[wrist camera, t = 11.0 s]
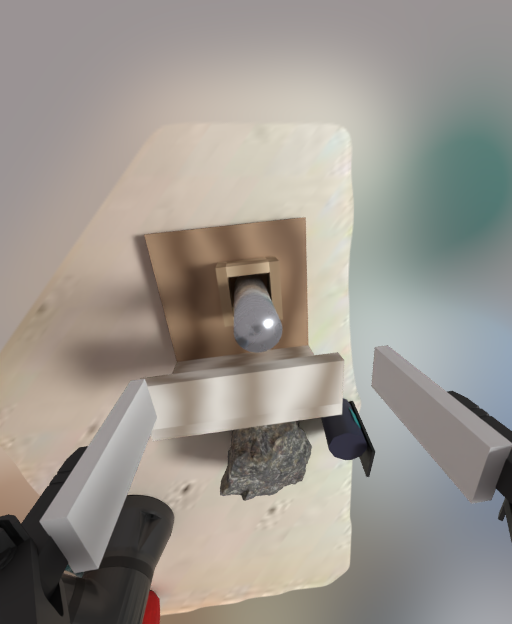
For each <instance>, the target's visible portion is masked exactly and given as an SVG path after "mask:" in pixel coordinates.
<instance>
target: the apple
mask: <svg viewBox="0 0 512 624" xmlns="http://www.w3.org/2000/svg"><path fill="white" fill-rule="evenodd" d="M159 621H160V601H159V598H158V597H157V595H156V594H155V593H154V592H153V591H149V595H148V600H147V604H146V609H145V613H144V618H143V622H142V624H159V623H160V622H159Z"/></svg>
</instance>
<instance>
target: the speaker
mask: <svg viewBox="0 0 512 624" xmlns="http://www.w3.org/2000/svg"><path fill="white" fill-rule="evenodd" d="M321 419H322V423H323V427H324V431H325V435H326V439H327V444H328V448H329V450H330V452H331V453H332V454H333V455H334V457H337V458H340V459H343V460H352V459H355V458H357V457H360V460H361V463H362V466H363V469H364V471H365V474H366V476H367V477H369V475H370V471H371V467H372V463H373V459H374V455H375V450H374V448H373V446H372V443H371V441H370V439H369V436H368V434H367V432H366V429H365V427H364V425H363V423H362V420H361V418H360V416H359V413H358V411H357V409H356V407H355V404H354V402H353V401H351V403H350V404H349V402H348V401H347V400H346V399H343V402H342V414H341V415H334V416H327V417H321Z"/></svg>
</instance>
